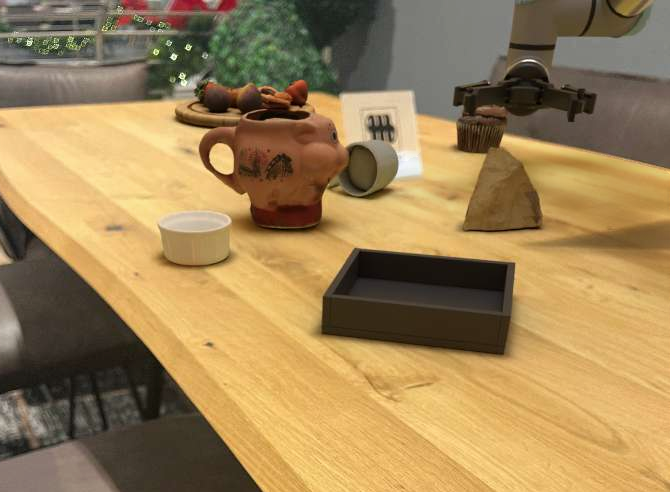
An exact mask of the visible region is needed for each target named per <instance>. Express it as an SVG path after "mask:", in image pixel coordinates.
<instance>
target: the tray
mask: <svg viewBox="0 0 670 492" xmlns="http://www.w3.org/2000/svg"><path fill="white" fill-rule="evenodd" d="M515 274H516V262H513V261H501V260H492V259H481V258H480V259H479V258H469V257H457V256H447V255H436V254H426V253H425V254H424V253H416V252H415V253H414V252H404V251H392V250H383V249H382V250H381V249H373V248H371V249H370V248H360V247H354V248H353V249H352V251H351V252H350V254H349V255H348V257H347V259H346V260H345V261H344V263H343V264H342V266H341V268H340V269H339V271H338V272H337V274H336V275H335V277H334V278H333V280H332V281H331V283H330V284H329V286H328V287H327V288H326V290H325V292H324V294H323V295H322V301H321V302H322V303H321V305H322V307H321V334H324V335H325V334H326V335H334V336H335V335H336V336H342V337H343V336H344V337H351V338H361V339H367V340H378V341H385V342H386V341H387V342H393V343H394V342H395V343H405V344H412V345H420V346H429V347H439V348H447V349H453V350H454V349H455V350H465V351H472V352H480V353H481V352H482V353H489V354H498V355H504V354H505V351H506V346H507V339H508V336H509V335H508V334H509V329H510V323H511V318H512V309H513V308H512V307H513V299H514V286H515Z"/></svg>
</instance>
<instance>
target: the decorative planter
mask: <svg viewBox="0 0 670 492" xmlns="http://www.w3.org/2000/svg"><path fill="white" fill-rule="evenodd" d="M218 144H222V145H226V146H228V148H230V150H231V152H232V155H233V171H232V172H231V173H227V174H225V173H223V172H221V171H219V170H218V169H216V168H215V167H214V165H213V164H212V163H211V158H210V154H211V151H212V150H213V148H214V147H215V146H216V145H218ZM345 147H346V146H344V145H343V144H342V143H341V141H340V139H339V136H338V131H337V127H336V125H335V123H334V121H333V119H331V118H329V117H327V116H325V115H322V114H318V113H316V112H315V113H313V112H310V111H293V110H275V109H263V110H256V111H252V112H249V113H246V114H244V115H242V116H241V118H240V121H239V124H238V125H237V126H236V127H215V128H214V127H213V128H212V129H210V130H208V131H207V132H205V133H204V134H203V136H202V137H201V140H200V142H199V144H198V153H199V157H200V161H201V162H202V164H203V166H204V168H205V169H206V170H207V171H209V173H211V174H212V175H213V176H214V177H215V178H216V179H218V180H219V181H221V183H222V184H223V185H225V186H227V187H228V188H229V189H231V190H233V191H234V192H235V193H237V194H239V195H240V196H243V195H246V194H247V196H248V198H249V202H250V207H249V212H250V216H251V219H252V221H253V223H254V224H255V225H257V226H259V227H260V226H261V227H264V228H272V229H273V228H275V229H303V228H304V229H305V228H309V227H313V226H316V225H317V224H318V223H319V222H321V220H322V217H323V196H324V193H325V191H326V189H327V187H328V186H329V182H330V181H331V180H332V179H333V178H334V177H335V176H337V175H338V174H339V173H340V172H342V171H343V170H344V169H345V168H346V166H347V165H348V162H349V152H348V150H347V149H346V148H345Z"/></svg>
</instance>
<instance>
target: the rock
mask: <svg viewBox="0 0 670 492" xmlns="http://www.w3.org/2000/svg"><path fill="white" fill-rule="evenodd" d="M540 203H541V201H540V195H539V193H538V191H537V190H536V188H535V187H534V185H533V183H532V181H531V178H530V176H529V175H528V173H527V170H526V169H525V165H524V163H523V162H521V161H520V160H519V159H518V158H516V156H514V155H513V154H512V153H511V152H510V151H509V150H507V149H505V148H501V147H499V148H493V147H490V148H489V150H488V152H487V153H486V156H485V158H484V160H483V162H482V165H481V168H480V170H479V173H478V176H477V179H476V183H475V185H474V189H473V191H472V194H471V196H470V199H469V201H468V206H467V210H466V213H465V217H464V222H463V227H462V230H463V231H465V232H467V231H470V230H471V231H472V230H473V231H474V230H476V231H480V230H481V231H486V232H487V231H488V232H489V231H505V230H506V231H507V230H514V229H516V230H517V229H523V228H534V227H535V228H536V227H543V212H542V208H541V204H540Z"/></svg>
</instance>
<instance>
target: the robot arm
mask: <svg viewBox="0 0 670 492" xmlns="http://www.w3.org/2000/svg"><path fill="white" fill-rule="evenodd" d="M654 1H655V0H514V6H513V8H514V9H513V15H512V21H511V23H512V24H511V31H510V37H509V43H508V44H509V45H508V48H507V52H506V53H507V54H506V60H505V67H504V72H503V73H504V74H503V77H502V80H499V81H498V82H497V84H494V85H493V84H492V82H490V81H488V80H487V79H483V80H481V81H479V82H473V83H468V84H461V85H457V86H454V90H453V97H452V98H453V99H452V106H453V107H456V108H459V107H461V106H462V107H463V108H464V113H469V114H468V116H474V114H475V112H476V110H477V107H478V106H486V105H495V106H498V107H504V108H505V109H506V110H507V112H508V114H510V115H511V116H515V117H519V118H520V117H521V118H523V117H529V116H531V115H534V114H535V113H537V112H538V111H539V110H549V109H553V110H557V111H558V110H559V111H564V112H566V116H567V118H566V119H567V122H568V123H574V122H575V119H576V115H578V114H587V115H593V114H594V112H595V108H596V103H597V98H598V94H597V93H596V92H591V91H587V90H586V89H587V88H586V87H580V88H579V87H574V86H573V85H571V84H569V83H566V84H564V85H560V88H557V87H555V83H551V81H550V80H551V79H550V77H551V71H552V66H553V61H554V60H553V59H554V54H555V50H556V46H557V45H556V44H557V40H558V38H575V37H576V38H611V39H612V38H613V39H620V38H622V37H623V38H624V37H634V36H636V35H637V34H639V33H641V32H642V31H643V30H644V28H645V27H646V25H647V21H649V20H650V18H651V14H652V11H653V9H654V8H653V7H654Z"/></svg>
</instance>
